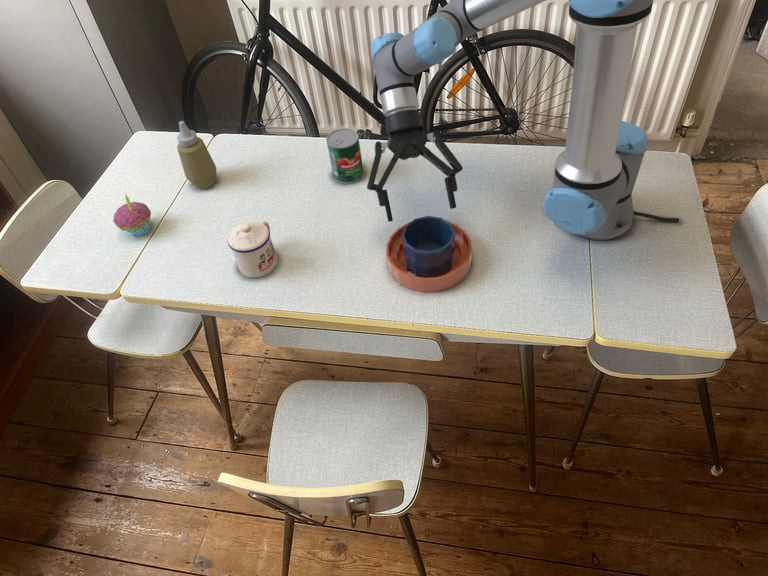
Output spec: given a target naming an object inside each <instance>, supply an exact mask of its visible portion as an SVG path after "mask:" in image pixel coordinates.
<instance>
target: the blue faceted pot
mask: <svg viewBox="0 0 768 576" xmlns="http://www.w3.org/2000/svg"><path fill="white" fill-rule="evenodd" d="M445 220H446V219H444V218H442V217H438V216H432V215H426V216H421V217H417V218H414V219H413V220H411V221H409V222H410V223H408V222H407V223H408V224H407V225H406V226H405V228H404V231H403V233H402V242H403V255H404V262H405V265H406V268H407V270H408V271H409V272H410V273H412V274H413V275H414V276H417V277H422V278H431V277H439V276H442V275H445V274H446V273H447V272H448V271H450V270H451V269H452V266H453V263H454V260H455V232H454V230H453V228H452V225H451V224H450V223H448V222H447V221H448V220H446V221H445Z"/></svg>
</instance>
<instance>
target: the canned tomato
mask: <svg viewBox="0 0 768 576" xmlns="http://www.w3.org/2000/svg"><path fill="white" fill-rule="evenodd" d="M359 137H360V135H359V134H358V132H357V131H356V130H354V129H352V128H347V127H346V128H338V129H335V130H333V131H331V132H329V134H328V135H327V136H326V139H325V141H326V145H327V150H328V151H327V152H328V155H329V160H330V167H331V172H332V177H333V179H334V180H335V181H336V182H338V183H340V184H354V183H356V182H358V181H359V180H361V179H362V178H363V176H364V173H365V172H364V165H363V160H362V159H363V158H362V153H361V146H360V145H361V144H360V138H359Z"/></svg>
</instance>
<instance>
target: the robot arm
mask: <svg viewBox="0 0 768 576" xmlns="http://www.w3.org/2000/svg"><path fill="white" fill-rule="evenodd" d="M546 1H547V0H450V1H449V2H448V3H446V4H445V5H444V6H443V7H442V8H440V9H439V10H438V11H436V12H435V13H434V14H432V15H431V16H430V17H428V18H427V19H426V20H425V21H423V22H421V24H419V25H418V26H416V27H415V28H414V29H413V30H411V31H409V32H408V33H407V34H405V35H404V34H403V33H401V32H387V33H384V34H382V35H380V36H377V37H375V38H374V39H373V40H372V42H371V44H370V55H371V64H372V66H373V67H372V68H373V70H374V76H375V80H376V85H377V89H378V93H379V98H380V103H381V108H382V113H383V116H384V117H385V119H384V124H385V129H386V133H387V134H386V135H387V141H383V142H381V141H376V142H375V143H374V157H373V158H374V159H373V162H372V166H371V168H370V169H371V170H370V173H369V177H368V181H367V184H366V189H367V190H368V191H374V192H375V193H376V195H377V200H378V205H379V206H380V207H381V208H382V207H384V209H385V213H386V219H387V222H388V223H390V222H393V221H394V219H393V214H392V209H391V204H390V199H389V194H388V190H387V189H384V187H385V185H386V183H387V181H388V179H389V177H390V175H391V173H392V172H393V170H394V168H395V166H396V164H397V162H398V160H402V161H406V160H409V159H416V158H419V157H420V156H421V157H422V158H424V159H425V160H427V161H428V162H430V163H431V164H432V165H433V166H434V167H435V168H437V170H439V171H441V172H442V173H443V174H444V175H446V177H445V178H444V184H445V189H446V194H447V200H448V205H449V209H450V210H453V209H456V208H457V203H456V199H455V192H458V184H457V178H456V175H457V174H458V173H460V172H462V171H463V165H462V164H461V163H460V161H459V160H458V159H457V157H456V156H455V155H454V153H453V152H452V151H451V149H450V148H449V146H448V145H447V144H446V143H445V141H444V140H443V138H442V134H441V132H440V130H439V129H435V130H434V131H433V132H430V133H426V132H425V130H424V125H423V119H422V115H421V111H420V110H418V109H419V108H420V105H419V101H418V100H419V98H418V95H417V91H416V85H415V81H414V79H415V78H414V77H415V76H417V75H419V74H421V73H423V72H424V71H426V70H428V69H430V68H432V67H434V66H436V65H439V64H442V63H443V62H444V61H445V60H446V59H448V58H449V57H451V56H452V55H453V54H454V53H455V51H456V47H458V46H459V45H460V44H461V43H462V42H464V41H465V40H466V39H468V38H469V37H471V36H474V35H475V34H478V33H479V32H482V31H483V30H485V29H487V28H489V27H491V26H494V25H496V24H498V23H500V22H502V21H504V20H507V19H509V18H511V17H513V16H515V15H518V14H519V13H522V12H524V11H526V10H529V9H530V8H533V7H535V6H537V5H539V4H541V3H543V2H546ZM567 1H568V2H569V3H568V17H569V18H570V20H571V21H572V22H574V24H576V25H577V30H576V41H575V50H574V61H573V70H572V79H571V89H570V98H569V109H568V120H567V128H566V129H567V130H566V140H565V149H564V150H563V151H561V152H560V153H559V155H558V156H557V158H556V159H555V164H554V175H553V183H552V186H551V188H550V189H548V190H547V192H546V193H545V197H544V199H543V203H542V206H543V211H544V214H545V216H546V217H547V219H548V220H549V221H550V222H552V223H553V224H554V226H555V227H557V228H559V229H560V230H562V231H564V232H566V233H569V234H571V235H572V234H573V235H577V236H579V237H582V238H584V239H588V240H592V241H610V240H615V239H617V238H620V237H622V236H624V235H625V234H626V233H628V231H629V230H630V228H631V227H632V223H633V220H634V216H637V217H644V218H648V219H652V220H656V221H662V222H670V223H671V222H674V223H675V222H676V223H679V222H680V217H665V216H660V215H659V216H658V215H655V214H651V213H646V212H641V211H637V210H634V205H633V197H632V194H633V191H634V187H635V185H636V182H637V179H638V176H639V173H640V169H641V166H642V163H643V159H644V156H645V153H647V151H648V149H647V146H648V141H649V139H648V135H647V133H646V132H645V131H644V130H643V129H642V128H641V127H639V126H638V125H636V124H634V123H631V122H628V121H625V120H622V116H623V111H624V106H625V99H626V94H627V89H628V82H629V77H630V71H631V65H632V59H633V54H634V48H635V44H636V43H635V41H636V37H637V30H638V26H639V24H641V23H642V22H644V21H645V20H647V18H648V17H649V16H650V15H651V13H652V10H653V4H654V0H567ZM428 141H430V142H431V143H432V144H434V145H435V147H436V148H437V149H438V151H439V152H440V153H441V155H442V156H443V158H444V159H445V161H447V162H448V164H449V165H450V166H449V165H448V164H447V163H446V162H444V161H443V160H442V159H441V158H440V157H438V156H437V155H436V154H434V153H433V152H432V150H431V149H429V147H427V146H426V144H427V143H428ZM387 148H388V150H389V151H390V152H391V153H393V155H392V157H391V159H390V160H389V162H388V165H387V166H386V168H385V170H384V172H383V174H382V176H381V178H380V179H379V181H378V183H375V182H376V179H377V175H378V171H379V166H380V163H381V160H382V154H384V153H385V151H386V149H387Z"/></svg>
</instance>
